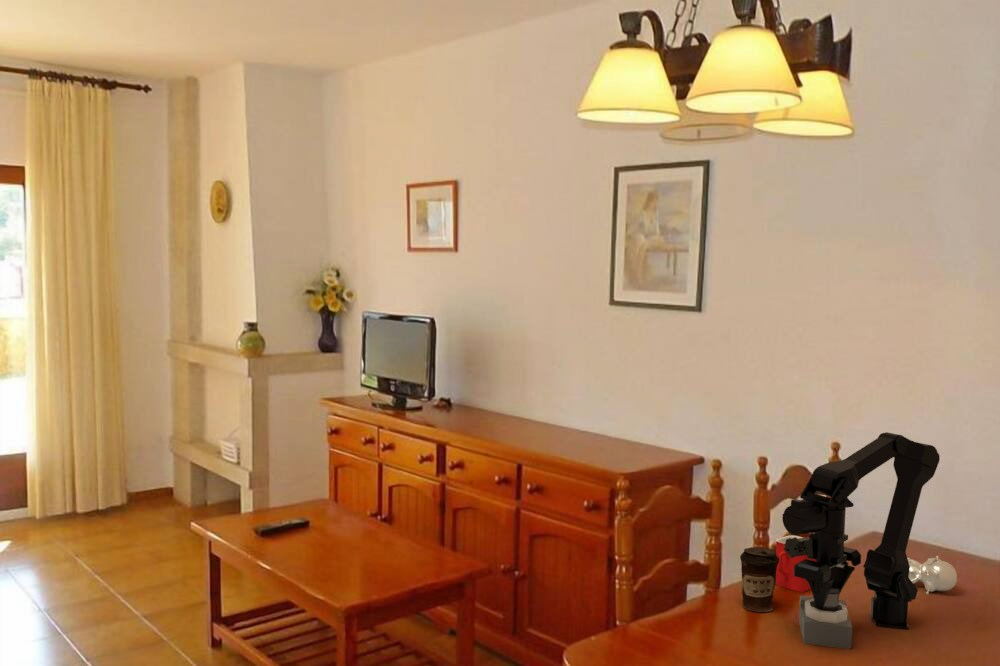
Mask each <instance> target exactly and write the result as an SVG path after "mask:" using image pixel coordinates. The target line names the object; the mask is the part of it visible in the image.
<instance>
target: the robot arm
mask: <svg viewBox="0 0 1000 666" xmlns="http://www.w3.org/2000/svg"><path fill="white" fill-rule="evenodd" d="M940 456H941V455H940V453H939V452H938V450H937V448H936V447H935V446H934V445H932V444H928V443H921V442H917V441H914V440H911V439H909V438H907V437H906V436H903V434H897V433H893V432H889V431H888V432H887V431H885V432H882V433H880V434H879V435H878V437H877V438H876V439H874V440H872V441H870V442H869V443H868V444H867V445H865V446H863V447H861V448H860V449H858V450H857V451H855V452H853V453H852V454H851V455H848V457H846V458H844V459H842V460H836V461H830V462H827V463H824V464H822V465H819V466H817V467H816V468H814V470H813V471H812V475H811V476H810V478H809V480H808V482H807V483H806V485H805V487H804V489H803V490H802V492H801V494H800V496H799V497H800V499H791V500H790V505H789V506H787V507H786V508H785V509H784V510H783V514H782V516H781V518H782V523H783V527H784V529H785V530H786V531H787V532H788V533H789V534H790V535H793V536H798V535H804V534H805V535H806V534H808V536H807V537H806V536H805V537H803V538H799V539H797V538H796V537H795V538H792V539H791V538H789V539H786V542H785V544H784V545H785V548H784V551H785V552H786V553H787V554H788V555H789V557H790V558H794V557H795V556H803V555H807V558H809V559H816V561H817V562H816V561H812V560H808V559H805V560H803V561H801V562H798V563H797V564H796V565H794V573H793V575H794V576H796V577H800V578H803V579H806V580H807V581H808V583H809V585H810V587H811V589H810V590H811V593H812V597H813V598H814V601H815V605H816V607H817V608H819V609H822V607H823V605H824V603H825V601H826V598H827V596H828V593H829V590H830V588H831V586H832V584H834V585H836V586H838V587H839V595H840V594H841V593H842V591H843V588H844V587H845V586H846V584H847V582H848V580H849V578H850V577H851V575H852V574H853V572H855V570H856V567H857V566H859V565H860V564H861V563H862V554H861V552H859V550H858V549H856V548H851V547H847V546H845V542H847V541H848V540H849V535H848V534H846V533H845V532H846V530H845V528H846V513H847V512H846V510H847V508H853V507H854V505H855V504H854V502H852V501H851V500H850V499H849V498H848V497H849V496H850V495H852V493H853V492H854V491H856V490H857V489H858V487H859V483H860V480H861V479H863V478H864V477H865V476H867V475H868V474H870V473H872V472H873V471H874V470H876V469H877V468H879V467H880V466H882V465H883V464H886V463H887V462H889V461H890V460H892V459H893V458H894V459H893V464H892V465H893V469H894V471H895V475H896V479H897V481H896V485H895V488H894V493H893V497H892V500H891V504H890V508H889V512H888V515H887V518H886V522H885V527H884V530H883V533H882V537H881V538H882V539H881V542H880V543H879V545H878V546H877V547H875V549H874V550H873V549H870V548H869V549H868V550H867V553H866V558H865V562H864V564H863V566H862V567H863V576H864V578H865V581H866V585H867V589H868V590H870V591H873V592H874V596H872V597H871V599H870V601H871V602H870V618H871V619H872V620H873V622H874V624H875V625H876V626H879V627H887V628H896V629H897V628H898V629H905V630H909V629H910V625H909V624H908V615H909V614H908V611H909V603H911V602H912V601H913V600H916V598H917V595H918V591H919V589H918V587H916V585H915V583H912V581H911V580H910V579H909V570H910V565H909V562H908V559H907V558H908V555H907V547H908V543H909V540H910V536H911V531H912V527H913V524H914V520H915V515H916V513H917V512H916V511H917V508H918V505H919V501H920V498H921V494H922V490H923V487H924V486H925V485H926V484H927V483H928V482H929V481H930V480H931V479H932V478H933V477H934V476H935V473H936V470H937V468H938V465H939V463H940ZM849 562H850V563H851V564H852V566H851V565H849Z"/></svg>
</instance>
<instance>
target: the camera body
mask: <svg viewBox="0 0 1000 666" xmlns="http://www.w3.org/2000/svg"><path fill="white" fill-rule="evenodd" d="M814 603H815V601H814V598H813V596H807V595H799V612H798V624H799V629H800V634H801V638H802V643H803V644H804V645H812V646H821V647H828V648H837V649H846V650H847V649H848V650H852V640H853V639H852V637H853V625H852V623H851V620H850V617H849V614H848V609H847V601H846V600H844V599H839V605H838V611H835V612H832V611H822V610H819V609H816V608H814Z"/></svg>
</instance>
